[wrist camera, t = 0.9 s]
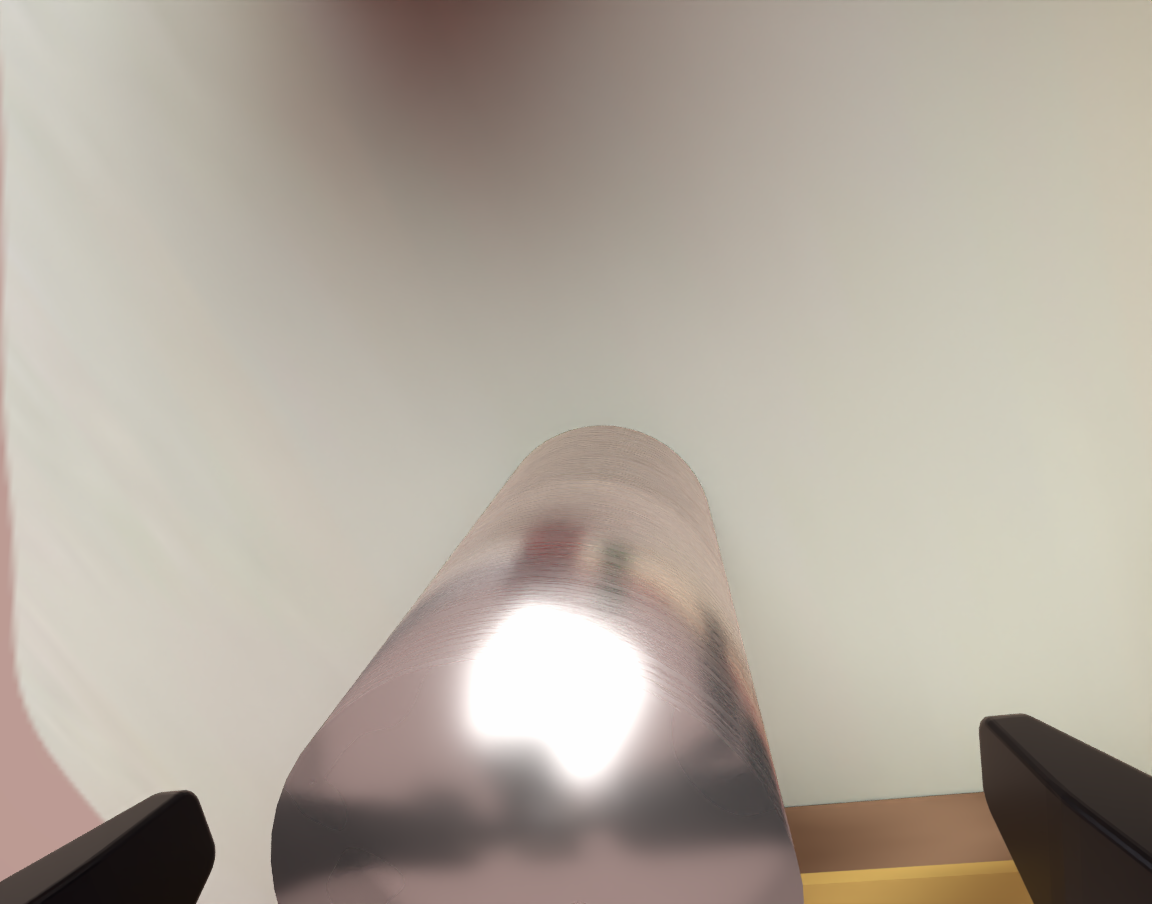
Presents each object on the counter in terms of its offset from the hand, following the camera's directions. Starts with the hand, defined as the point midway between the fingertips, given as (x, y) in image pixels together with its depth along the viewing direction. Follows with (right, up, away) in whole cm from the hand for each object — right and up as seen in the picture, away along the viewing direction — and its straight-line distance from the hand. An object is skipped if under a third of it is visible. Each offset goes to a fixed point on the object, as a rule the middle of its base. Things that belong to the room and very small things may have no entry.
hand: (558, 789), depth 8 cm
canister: (+1, +2, +8) cm, 9 cm away
